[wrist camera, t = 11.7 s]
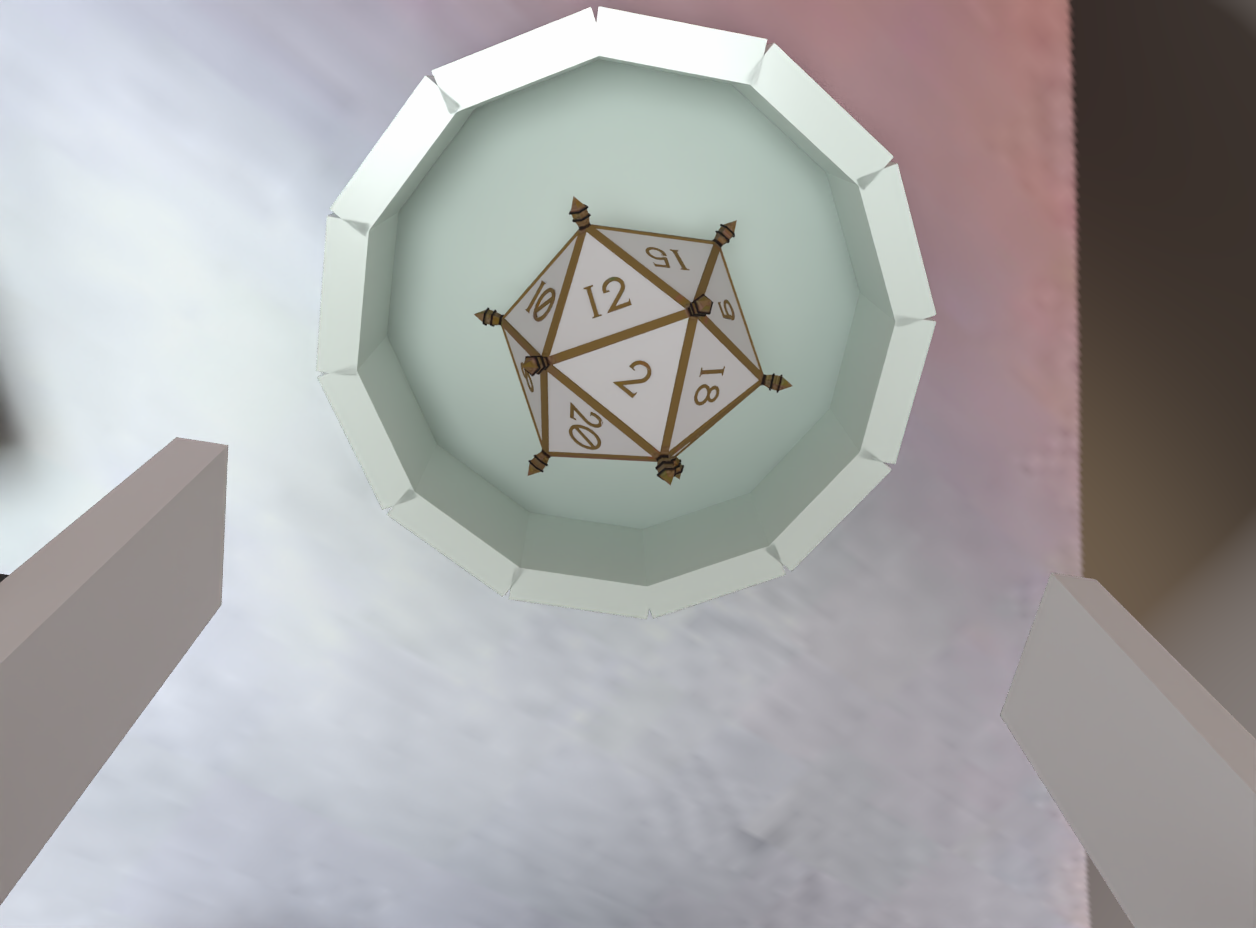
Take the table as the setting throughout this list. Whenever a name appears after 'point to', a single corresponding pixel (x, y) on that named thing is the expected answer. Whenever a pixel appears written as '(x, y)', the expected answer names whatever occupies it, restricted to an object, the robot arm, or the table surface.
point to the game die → (630, 345)
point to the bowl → (637, 200)
